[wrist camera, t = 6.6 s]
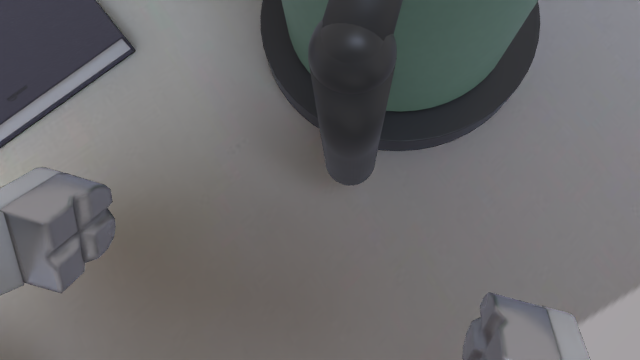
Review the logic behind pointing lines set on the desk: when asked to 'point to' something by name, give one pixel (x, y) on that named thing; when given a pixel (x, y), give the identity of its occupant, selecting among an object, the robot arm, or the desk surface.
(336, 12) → the kettle
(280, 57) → the kettle base
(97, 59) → the notebook
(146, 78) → the desk surface
